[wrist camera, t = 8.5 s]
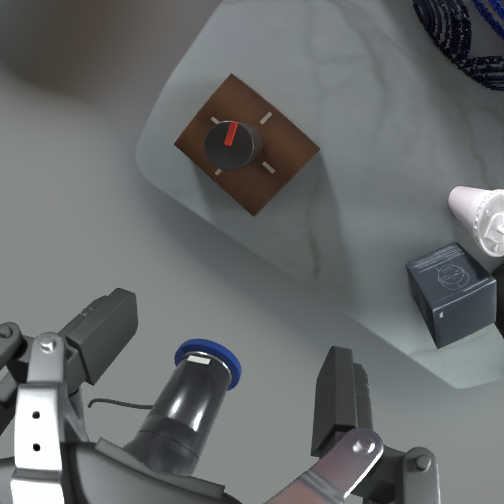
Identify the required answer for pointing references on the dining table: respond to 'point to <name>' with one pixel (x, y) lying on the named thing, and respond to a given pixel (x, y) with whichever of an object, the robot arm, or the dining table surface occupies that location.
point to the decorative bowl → (466, 42)
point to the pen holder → (499, 298)
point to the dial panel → (274, 151)
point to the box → (452, 293)
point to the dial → (233, 145)
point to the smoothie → (481, 216)
